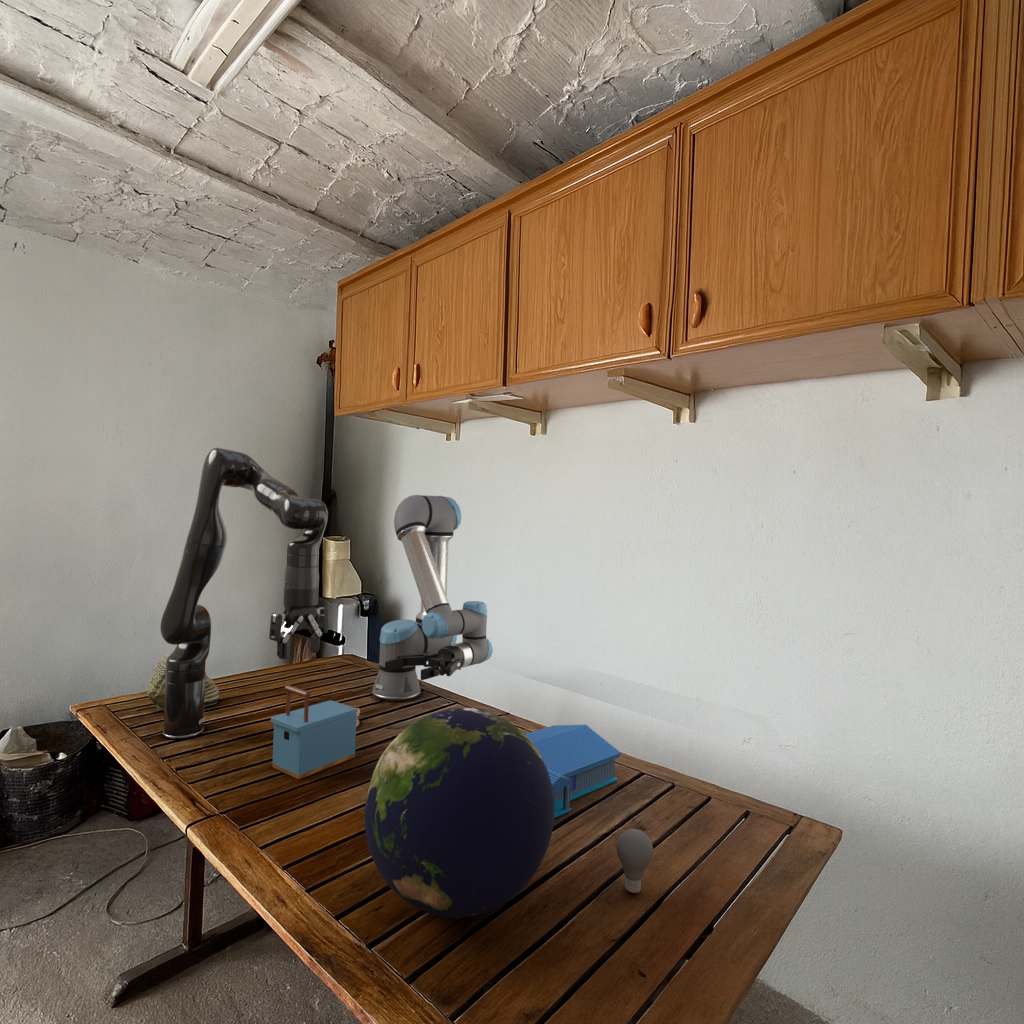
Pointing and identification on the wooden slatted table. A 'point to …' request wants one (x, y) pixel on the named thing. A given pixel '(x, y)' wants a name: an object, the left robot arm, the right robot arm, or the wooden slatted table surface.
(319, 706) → the lid
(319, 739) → the chest
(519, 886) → the globe
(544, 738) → the model building
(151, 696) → the fossil
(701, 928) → the wooden slatted table surface
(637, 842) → the light bulb
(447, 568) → the right robot arm
